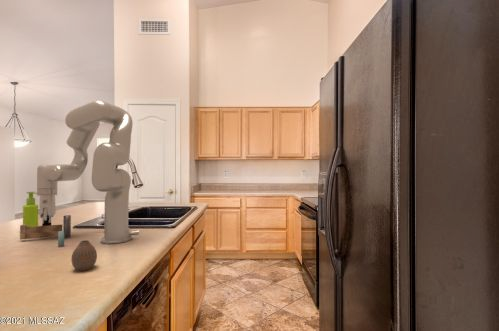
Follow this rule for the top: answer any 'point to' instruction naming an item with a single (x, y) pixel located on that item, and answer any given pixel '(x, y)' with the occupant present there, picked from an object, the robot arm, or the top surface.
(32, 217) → the soap dispenser
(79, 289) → the top surface
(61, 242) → the post
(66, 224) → the hinge post
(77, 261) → the vase
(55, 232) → the gate
